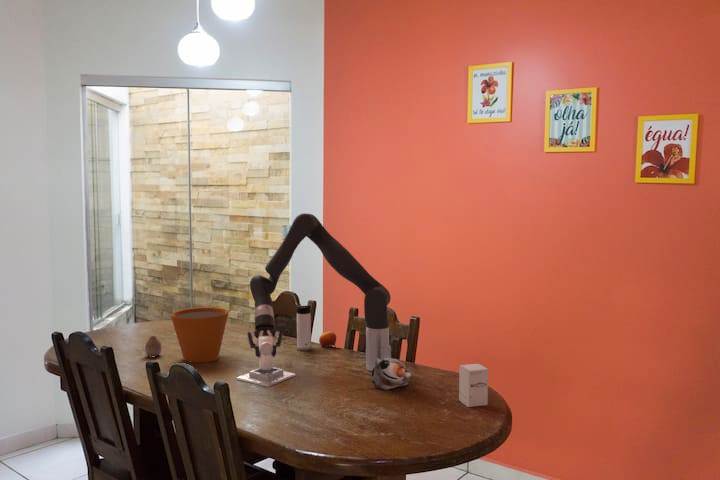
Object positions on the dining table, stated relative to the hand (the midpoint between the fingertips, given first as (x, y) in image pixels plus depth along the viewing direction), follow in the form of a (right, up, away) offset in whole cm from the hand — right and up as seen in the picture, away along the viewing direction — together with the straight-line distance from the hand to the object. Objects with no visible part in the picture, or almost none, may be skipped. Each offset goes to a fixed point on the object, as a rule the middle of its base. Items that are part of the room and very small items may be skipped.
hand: (266, 356), depth 232 cm
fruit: (+21, -5, +49) cm, 54 cm away
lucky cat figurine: (+48, -10, -8) cm, 50 cm away
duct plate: (0, -9, +2) cm, 9 cm away
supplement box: (+74, -11, -26) cm, 80 cm away
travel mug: (+11, -5, +44) cm, 46 cm away
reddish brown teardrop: (-54, -7, +33) cm, 64 cm away
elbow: (0, -5, +1) cm, 5 cm away
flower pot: (-33, -7, +30) cm, 45 cm away
